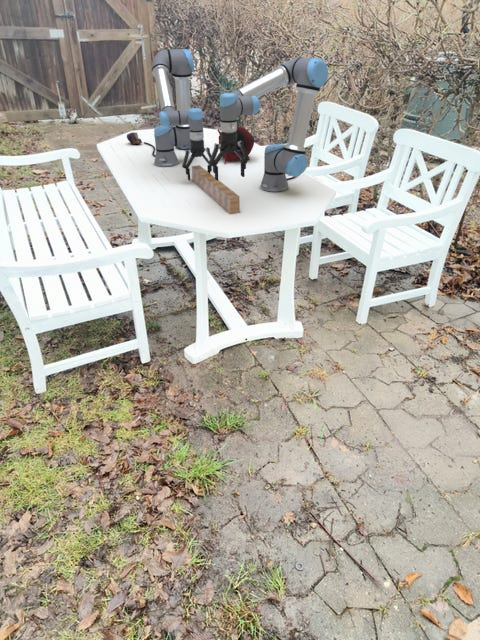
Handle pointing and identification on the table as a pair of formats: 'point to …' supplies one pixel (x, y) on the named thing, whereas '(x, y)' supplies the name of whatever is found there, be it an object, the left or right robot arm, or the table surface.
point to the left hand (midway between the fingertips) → (199, 178)
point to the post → (216, 189)
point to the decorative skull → (248, 145)
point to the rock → (133, 138)
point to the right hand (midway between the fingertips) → (229, 177)
